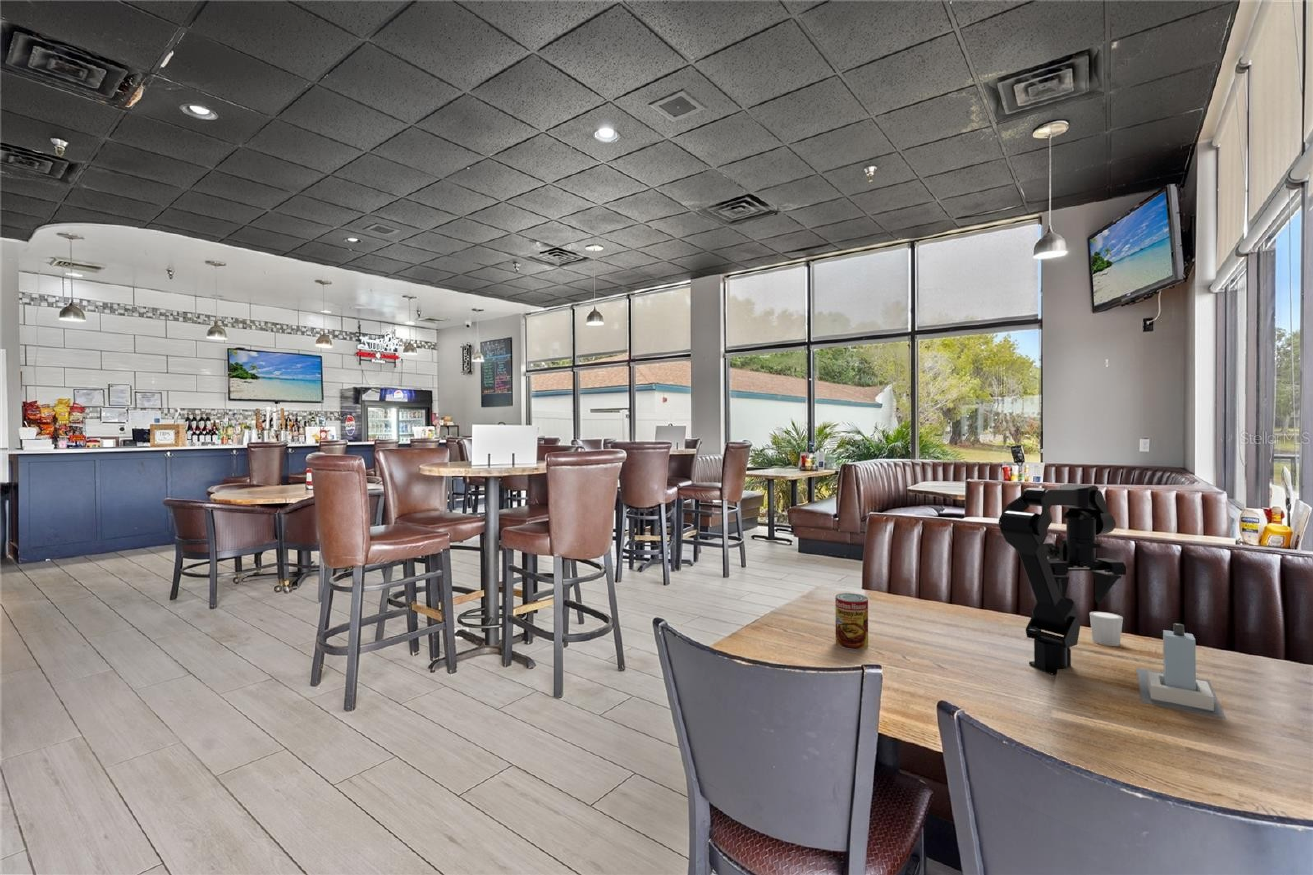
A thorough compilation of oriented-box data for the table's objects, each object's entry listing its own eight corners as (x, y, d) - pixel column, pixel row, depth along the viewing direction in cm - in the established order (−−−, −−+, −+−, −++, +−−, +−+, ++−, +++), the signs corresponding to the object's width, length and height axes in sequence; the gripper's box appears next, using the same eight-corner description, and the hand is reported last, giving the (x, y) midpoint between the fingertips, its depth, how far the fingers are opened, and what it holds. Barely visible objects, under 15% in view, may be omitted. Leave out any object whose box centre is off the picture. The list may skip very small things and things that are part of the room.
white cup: (1129, 647, 150) (1128, 619, 150) (1097, 645, 151) (1097, 617, 151) (1114, 638, 156) (1113, 611, 156) (1084, 637, 158) (1084, 610, 158)
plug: (1165, 697, 117) (1165, 625, 117) (1163, 690, 120) (1162, 619, 121) (1195, 703, 114) (1195, 629, 114) (1192, 695, 118) (1192, 623, 118)
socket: (1150, 701, 116) (1150, 685, 116) (1148, 685, 124) (1147, 671, 124) (1213, 713, 111) (1213, 697, 111) (1207, 697, 118) (1206, 681, 118)
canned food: (834, 647, 150) (833, 599, 150) (837, 638, 157) (836, 592, 157) (867, 651, 147) (867, 602, 147) (869, 641, 154) (868, 594, 154)
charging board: (1226, 724, 109) (1226, 718, 109) (1141, 707, 116) (1141, 701, 116) (1209, 685, 127) (1209, 680, 127) (1136, 672, 134) (1136, 667, 134)
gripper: (1091, 531, 151) (1090, 593, 151) (1020, 531, 150) (1019, 594, 150) (1129, 539, 140) (1128, 606, 140) (1052, 539, 139) (1051, 607, 139)
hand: (1079, 603), depth 143 cm, fingers open, 9 cm apart
